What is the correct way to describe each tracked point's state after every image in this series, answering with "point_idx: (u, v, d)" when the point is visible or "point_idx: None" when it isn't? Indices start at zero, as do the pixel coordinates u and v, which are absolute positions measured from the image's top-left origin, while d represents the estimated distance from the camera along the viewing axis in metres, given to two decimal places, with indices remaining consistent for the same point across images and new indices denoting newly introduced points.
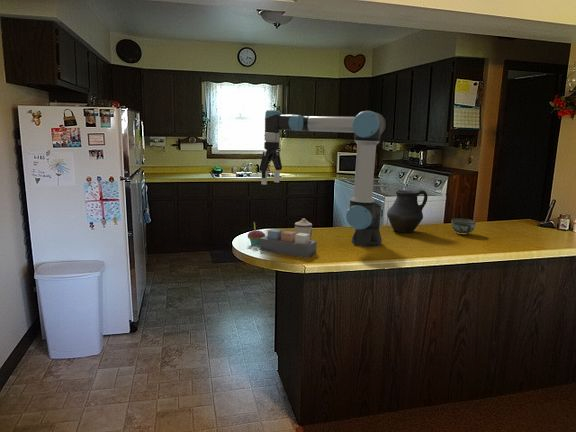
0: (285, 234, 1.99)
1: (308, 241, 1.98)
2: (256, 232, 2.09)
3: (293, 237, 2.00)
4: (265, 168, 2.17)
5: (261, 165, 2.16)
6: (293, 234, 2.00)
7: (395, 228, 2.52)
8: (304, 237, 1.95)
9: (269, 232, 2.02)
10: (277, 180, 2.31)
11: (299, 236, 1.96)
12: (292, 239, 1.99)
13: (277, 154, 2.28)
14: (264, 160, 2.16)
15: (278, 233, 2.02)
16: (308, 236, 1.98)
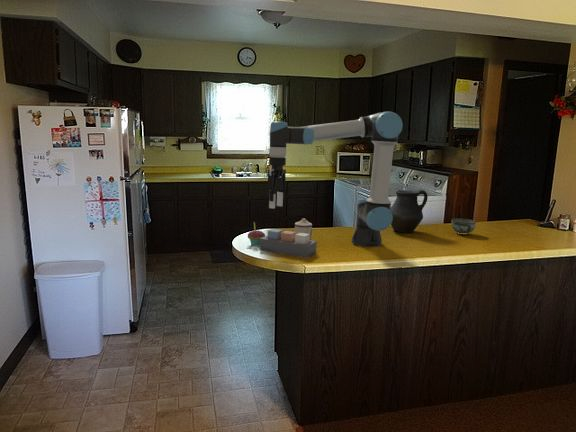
0: (285, 234, 1.99)
1: (308, 241, 1.98)
2: (256, 232, 2.09)
3: (293, 237, 2.00)
4: (273, 190, 1.95)
5: (268, 187, 1.94)
6: (293, 234, 2.00)
7: (395, 228, 2.52)
8: (304, 237, 1.95)
9: (269, 232, 2.02)
10: (280, 204, 2.04)
11: (299, 236, 1.96)
12: (292, 239, 1.99)
13: (283, 172, 2.03)
14: (271, 181, 1.93)
15: (278, 233, 2.02)
16: (308, 236, 1.98)
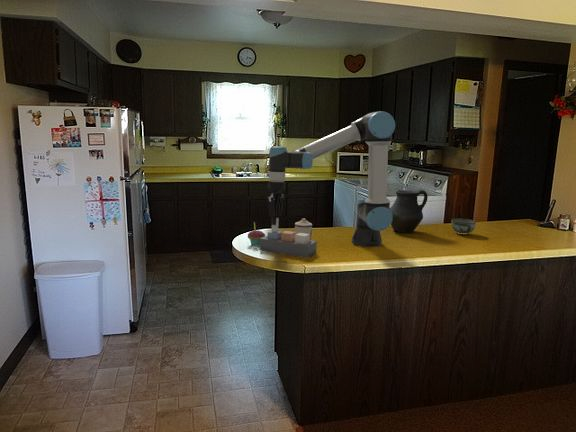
0: (285, 234, 1.99)
1: (308, 241, 1.98)
2: (256, 232, 2.09)
3: (293, 237, 2.00)
4: (275, 215, 2.00)
5: (270, 212, 1.99)
6: (293, 234, 2.00)
7: (395, 228, 2.52)
8: (304, 237, 1.95)
9: (269, 234, 2.02)
10: None
11: (299, 236, 1.96)
12: (292, 239, 1.99)
13: (281, 196, 2.04)
14: (272, 207, 1.97)
15: (278, 235, 2.02)
16: (308, 236, 1.98)
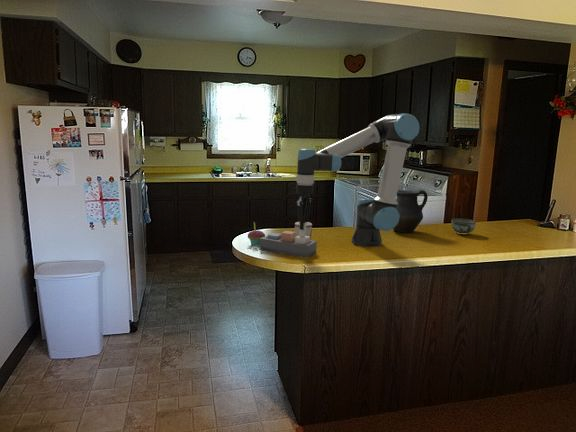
0: (285, 234, 1.99)
1: (308, 243, 1.99)
2: (256, 232, 2.09)
3: (293, 237, 2.00)
4: (303, 219, 1.94)
5: (298, 217, 1.93)
6: (293, 234, 2.00)
7: (395, 228, 2.52)
8: (304, 239, 1.95)
9: (269, 236, 2.03)
10: None
11: (299, 238, 1.96)
12: (292, 239, 1.99)
13: (309, 200, 1.98)
14: (300, 211, 1.91)
15: (278, 237, 2.02)
16: (308, 238, 1.98)
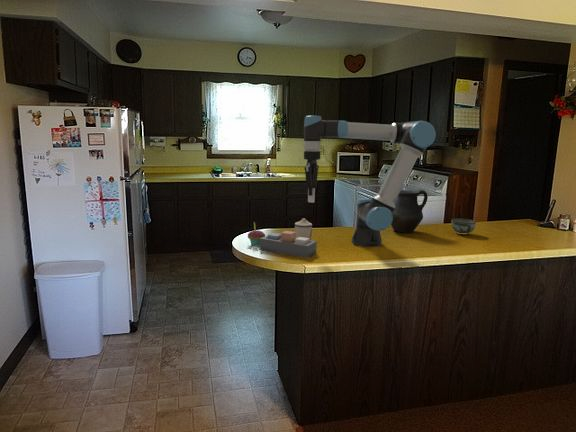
0: (285, 234, 1.99)
1: None
2: (256, 232, 2.09)
3: (293, 237, 2.00)
4: (312, 185, 1.99)
5: (307, 183, 1.98)
6: (293, 234, 2.00)
7: (395, 228, 2.52)
8: (304, 241, 1.95)
9: (269, 236, 2.03)
10: None
11: (299, 240, 1.96)
12: (292, 239, 1.99)
13: (316, 167, 2.03)
14: (309, 177, 1.96)
15: (278, 237, 2.02)
16: (308, 240, 1.98)
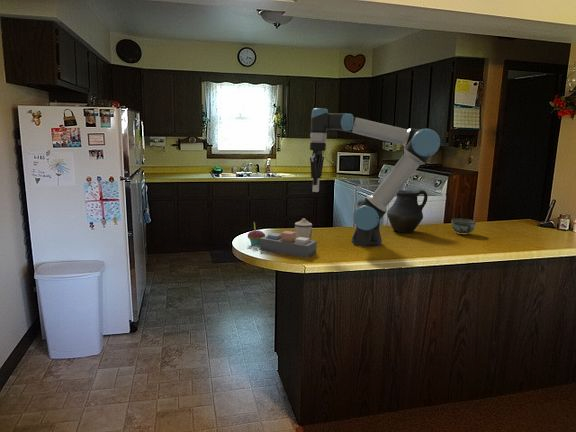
0: (285, 234, 1.99)
1: None
2: (256, 232, 2.09)
3: (293, 237, 2.00)
4: (316, 175, 2.08)
5: (312, 172, 2.06)
6: (293, 234, 2.00)
7: (395, 228, 2.52)
8: (304, 241, 1.95)
9: (269, 236, 2.03)
10: None
11: (299, 240, 1.96)
12: (292, 239, 1.99)
13: (322, 158, 2.12)
14: (314, 167, 2.05)
15: (278, 237, 2.02)
16: (308, 240, 1.98)
